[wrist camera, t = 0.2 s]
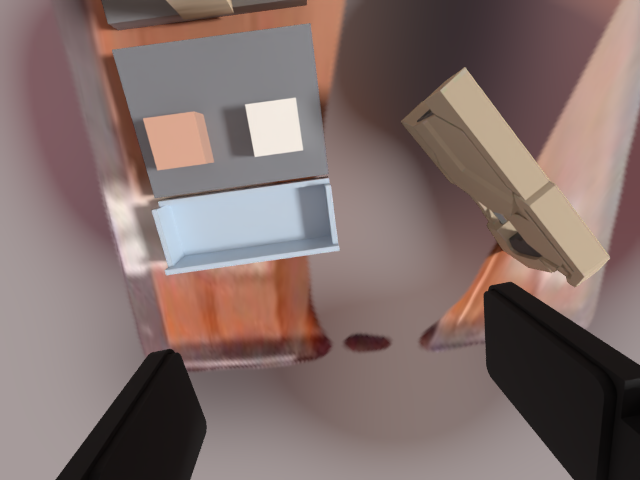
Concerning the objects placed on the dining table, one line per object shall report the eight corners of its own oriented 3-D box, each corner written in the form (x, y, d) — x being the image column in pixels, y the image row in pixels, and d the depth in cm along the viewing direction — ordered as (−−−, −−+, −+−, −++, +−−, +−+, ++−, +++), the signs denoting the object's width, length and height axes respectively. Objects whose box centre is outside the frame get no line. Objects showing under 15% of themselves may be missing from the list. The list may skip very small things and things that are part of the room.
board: (125, 56, 33) (111, 49, 31) (309, 32, 34) (310, 23, 31) (164, 194, 38) (154, 198, 35) (327, 172, 38) (328, 174, 36)
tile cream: (249, 108, 33) (244, 104, 30) (296, 101, 33) (295, 97, 30) (258, 156, 35) (254, 156, 32) (303, 149, 35) (303, 150, 32)
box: (165, 198, 38) (145, 206, 33) (327, 176, 38) (331, 180, 33) (182, 259, 40) (166, 275, 36) (335, 238, 41) (339, 250, 36)
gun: (528, 244, 42) (636, 284, 28) (507, 260, 43) (603, 308, 28) (414, 102, 38) (470, 62, 24) (393, 121, 39) (436, 94, 24)
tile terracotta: (156, 120, 33) (142, 118, 30) (203, 114, 33) (193, 111, 30) (169, 168, 35) (157, 170, 32) (214, 162, 35) (206, 163, 32)
